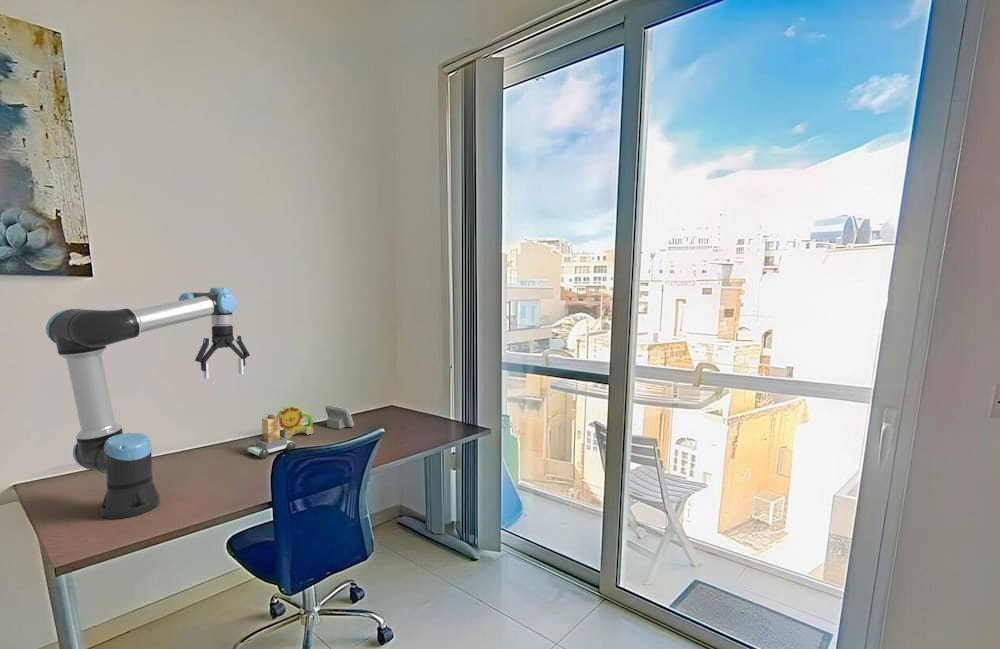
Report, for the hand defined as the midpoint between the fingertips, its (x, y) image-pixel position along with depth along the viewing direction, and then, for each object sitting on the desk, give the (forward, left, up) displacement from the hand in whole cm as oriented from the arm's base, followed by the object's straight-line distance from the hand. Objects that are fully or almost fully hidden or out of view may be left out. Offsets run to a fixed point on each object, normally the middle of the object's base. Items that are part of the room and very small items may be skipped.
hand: (224, 376), depth 196 cm
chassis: (+15, +7, -35) cm, 39 cm away
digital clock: (+35, +43, -35) cm, 66 cm away
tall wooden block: (+15, +7, -32) cm, 36 cm away
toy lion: (+18, +28, -35) cm, 48 cm away
